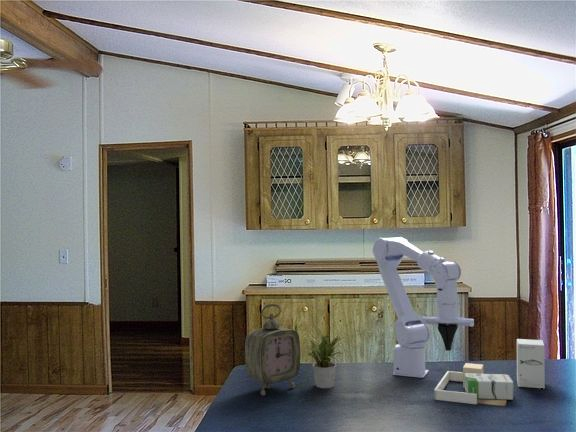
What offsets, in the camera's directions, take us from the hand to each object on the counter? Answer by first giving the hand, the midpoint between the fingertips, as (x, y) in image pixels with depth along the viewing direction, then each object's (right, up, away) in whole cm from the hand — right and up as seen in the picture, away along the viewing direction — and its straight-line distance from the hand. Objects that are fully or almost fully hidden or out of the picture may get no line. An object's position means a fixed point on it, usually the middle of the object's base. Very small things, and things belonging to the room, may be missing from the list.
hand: (448, 349), depth 177 cm
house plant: (-35, -11, +1) cm, 37 cm away
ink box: (+2, -8, -9) cm, 12 cm away
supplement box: (+24, -10, -1) cm, 26 cm away
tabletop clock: (-51, -12, -1) cm, 53 cm away
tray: (+2, -11, -5) cm, 12 cm away
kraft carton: (+7, -10, -1) cm, 13 cm away
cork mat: (+8, -11, -12) cm, 17 cm away
